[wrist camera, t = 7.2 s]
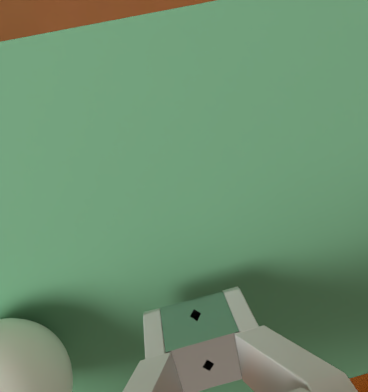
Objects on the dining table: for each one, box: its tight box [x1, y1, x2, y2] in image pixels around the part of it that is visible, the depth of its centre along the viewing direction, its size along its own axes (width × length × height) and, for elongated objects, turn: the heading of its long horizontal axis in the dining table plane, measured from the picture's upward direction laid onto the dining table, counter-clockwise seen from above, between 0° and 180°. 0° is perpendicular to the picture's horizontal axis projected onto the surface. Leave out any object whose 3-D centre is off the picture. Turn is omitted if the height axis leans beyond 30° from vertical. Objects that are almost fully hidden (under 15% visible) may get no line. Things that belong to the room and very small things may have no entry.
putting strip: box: [0, 0, 368, 392], centre depth 11 cm, size 28×16×2 cm, turn 101°
